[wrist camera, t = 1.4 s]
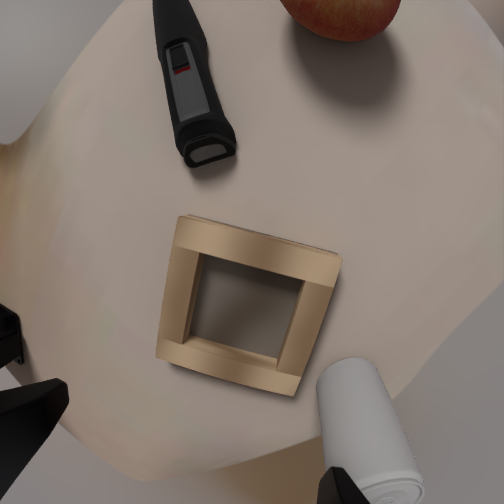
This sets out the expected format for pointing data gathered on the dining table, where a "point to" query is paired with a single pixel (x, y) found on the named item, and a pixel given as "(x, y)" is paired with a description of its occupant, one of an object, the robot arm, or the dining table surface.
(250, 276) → the socket block
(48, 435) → the robot arm
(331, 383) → the beverage can
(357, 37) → the apple
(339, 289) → the dining table surface
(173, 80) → the electric trimmer
